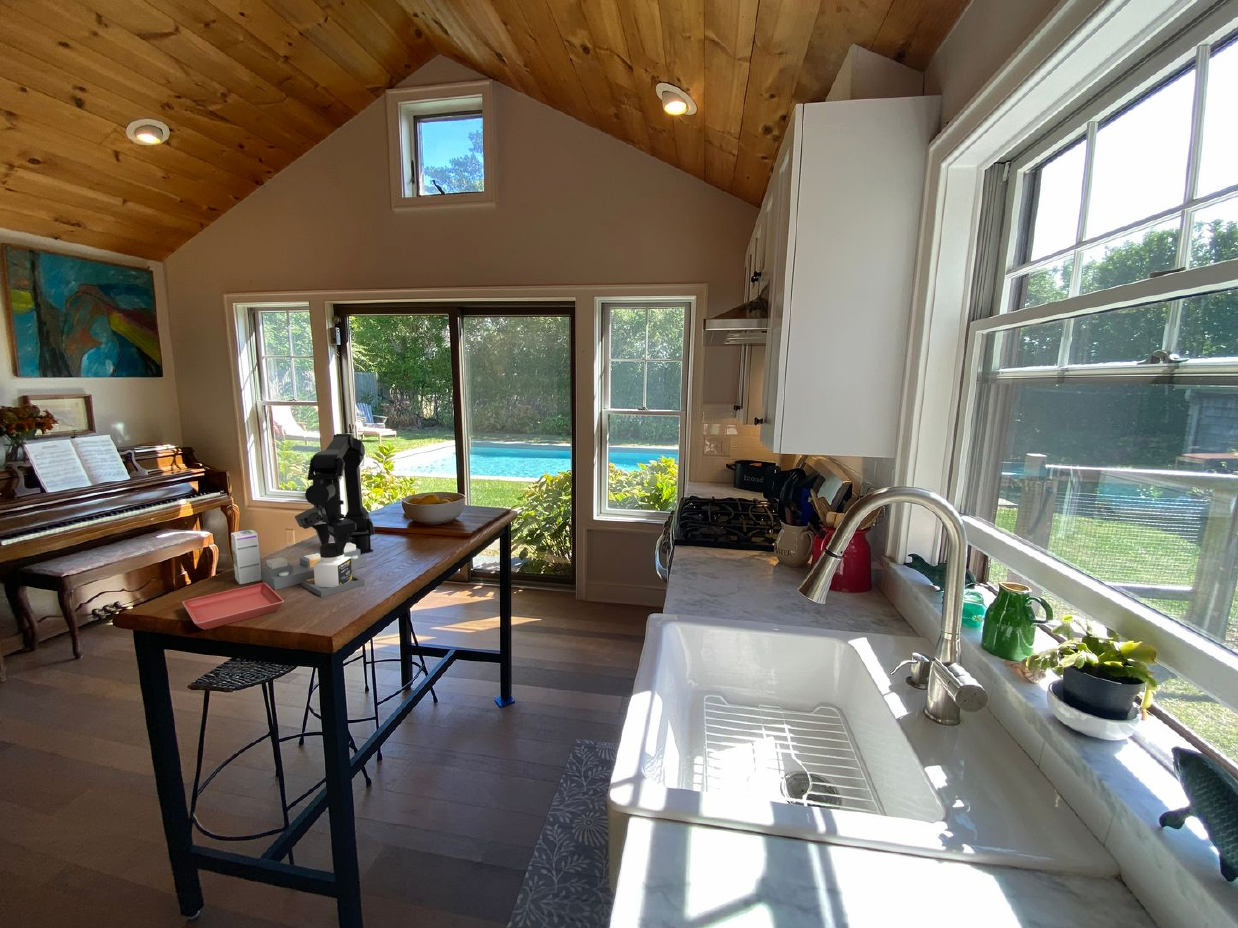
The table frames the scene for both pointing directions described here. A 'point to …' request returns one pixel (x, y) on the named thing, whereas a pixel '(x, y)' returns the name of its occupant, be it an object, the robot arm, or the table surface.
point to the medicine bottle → (332, 567)
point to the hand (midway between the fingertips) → (332, 550)
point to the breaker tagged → (312, 556)
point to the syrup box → (246, 556)
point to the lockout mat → (323, 592)
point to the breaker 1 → (276, 563)
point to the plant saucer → (232, 605)
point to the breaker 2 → (349, 547)
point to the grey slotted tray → (302, 571)
